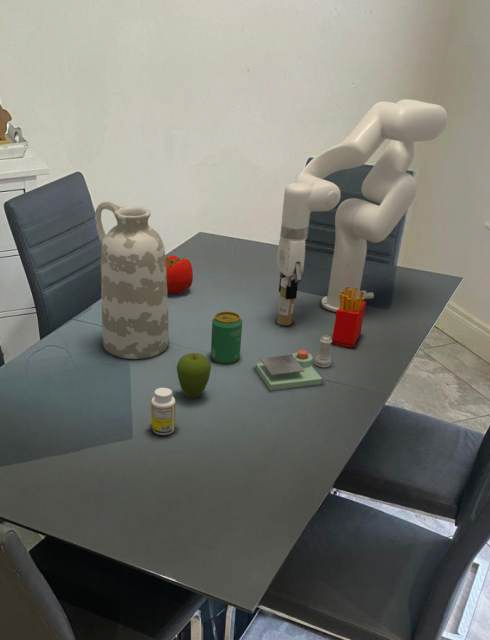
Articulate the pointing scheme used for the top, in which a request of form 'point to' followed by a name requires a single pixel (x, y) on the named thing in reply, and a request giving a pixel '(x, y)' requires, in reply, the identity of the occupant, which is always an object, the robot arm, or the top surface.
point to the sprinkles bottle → (285, 305)
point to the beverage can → (226, 337)
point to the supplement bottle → (163, 411)
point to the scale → (291, 375)
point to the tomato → (178, 274)
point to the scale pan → (282, 365)
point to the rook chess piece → (324, 353)
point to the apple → (193, 373)
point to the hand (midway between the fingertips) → (287, 294)
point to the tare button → (302, 354)
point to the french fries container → (348, 318)
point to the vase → (133, 284)
